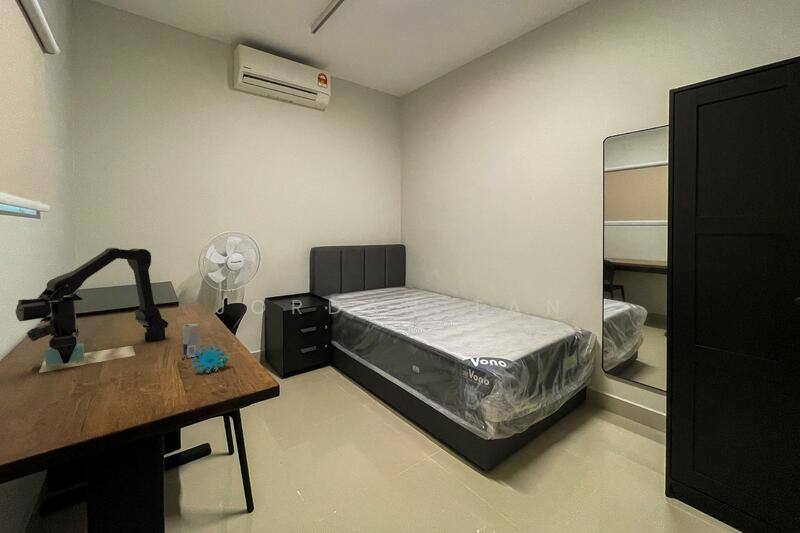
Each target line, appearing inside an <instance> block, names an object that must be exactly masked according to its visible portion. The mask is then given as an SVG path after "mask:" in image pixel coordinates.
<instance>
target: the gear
mask: <svg viewBox="0 0 800 533" xmlns="http://www.w3.org/2000/svg"><path fill="white" fill-rule="evenodd" d="M214 348H215V346H213V345H209V349H208V351H207V348H206V347H202V348H201V351H202V354H201V351H200V352H199V351H198V352H196V353H195V355H196V356H198V357H194V358H192V360H191V361H192V363H194V364H193V369H198V371H197V372H198V373H199V374H202V373H203V372H204V370H205V369H207V370H206V371H205V373H206V372H208V371H210V372H211V370H212V369H213V368H214V369H218V370H219V368H221V367H222V368H223V367H225V365H226V364H227V362H228V361H230V360H231V356H230V355H227V356H225V355H226V351H225V350H223V351H221V350H222V349H221V347H220V346H218V347H216V349H214ZM213 349H214V350H213ZM212 350H213V351H212ZM220 351H221V352H220ZM198 358H199V359H198ZM198 363H199V364H198ZM225 363H226V364H225ZM224 364H225V365H224ZM217 365H219V368H218V366H217Z"/></svg>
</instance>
